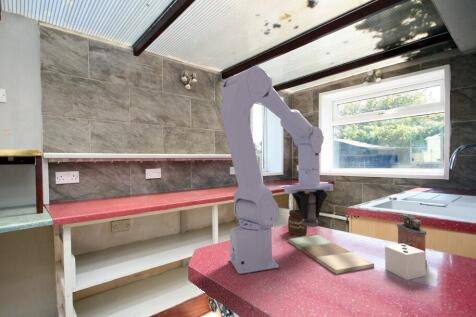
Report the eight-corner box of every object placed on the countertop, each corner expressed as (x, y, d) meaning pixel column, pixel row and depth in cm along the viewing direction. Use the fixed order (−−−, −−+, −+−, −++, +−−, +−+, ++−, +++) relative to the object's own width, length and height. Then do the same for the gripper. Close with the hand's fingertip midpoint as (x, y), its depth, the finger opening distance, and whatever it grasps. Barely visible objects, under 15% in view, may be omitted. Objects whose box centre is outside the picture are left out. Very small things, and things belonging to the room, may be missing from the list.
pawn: (299, 222, 72) (298, 191, 72) (312, 221, 73) (312, 191, 73) (307, 227, 68) (307, 194, 67) (321, 225, 69) (321, 193, 68)
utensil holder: (288, 229, 84) (287, 194, 84) (307, 230, 83) (306, 194, 83) (288, 235, 78) (287, 196, 78) (308, 236, 77) (308, 197, 77)
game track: (335, 273, 52) (335, 270, 52) (288, 241, 72) (288, 238, 72) (374, 267, 55) (374, 263, 55) (318, 237, 75) (317, 235, 75)
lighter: (431, 265, 55) (430, 220, 55) (415, 265, 55) (415, 220, 55) (407, 251, 63) (406, 212, 63) (393, 251, 63) (393, 212, 63)
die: (406, 279, 49) (406, 254, 49) (385, 269, 54) (385, 245, 54) (425, 275, 51) (425, 251, 51) (403, 265, 55) (402, 243, 55)
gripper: (292, 171, 64) (293, 223, 64) (340, 169, 68) (340, 218, 69) (280, 169, 71) (281, 217, 71) (324, 168, 75) (325, 213, 75)
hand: (309, 217), depth 70 cm, fingers closed on pawn, 3 cm apart
